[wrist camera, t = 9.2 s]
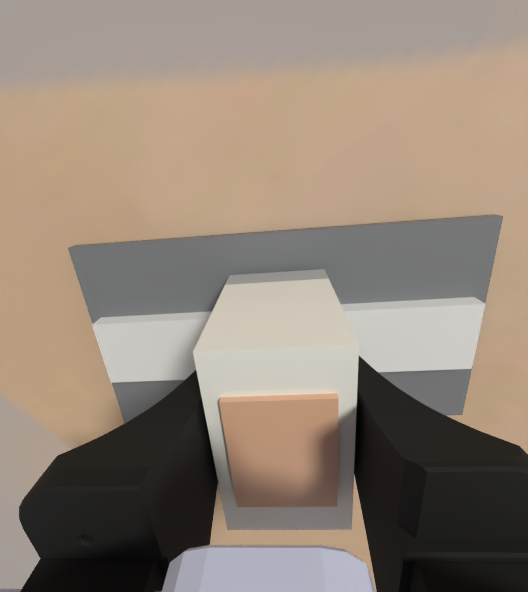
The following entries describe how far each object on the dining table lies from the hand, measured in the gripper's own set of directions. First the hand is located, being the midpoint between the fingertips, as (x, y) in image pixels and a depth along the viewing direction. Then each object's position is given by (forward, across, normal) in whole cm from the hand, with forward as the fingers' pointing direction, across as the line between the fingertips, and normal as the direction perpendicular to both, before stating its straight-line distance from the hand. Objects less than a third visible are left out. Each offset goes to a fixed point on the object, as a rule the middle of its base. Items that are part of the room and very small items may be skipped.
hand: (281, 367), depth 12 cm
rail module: (+2, 0, 0) cm, 2 cm away
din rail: (+3, 0, 0) cm, 3 cm away
